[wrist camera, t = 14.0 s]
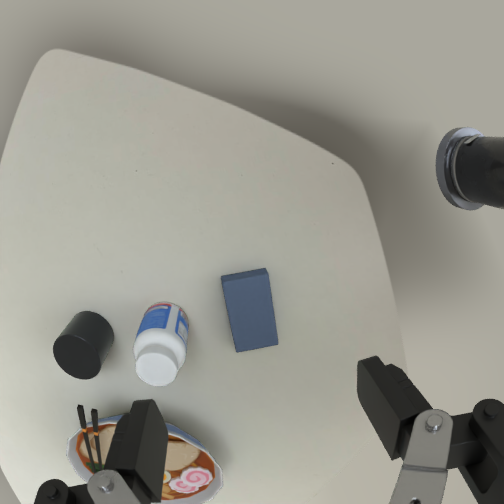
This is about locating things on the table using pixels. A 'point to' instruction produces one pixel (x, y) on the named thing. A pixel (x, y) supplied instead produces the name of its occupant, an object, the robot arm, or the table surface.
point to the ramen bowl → (176, 466)
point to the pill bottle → (161, 344)
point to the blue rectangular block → (250, 309)
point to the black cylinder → (84, 345)
